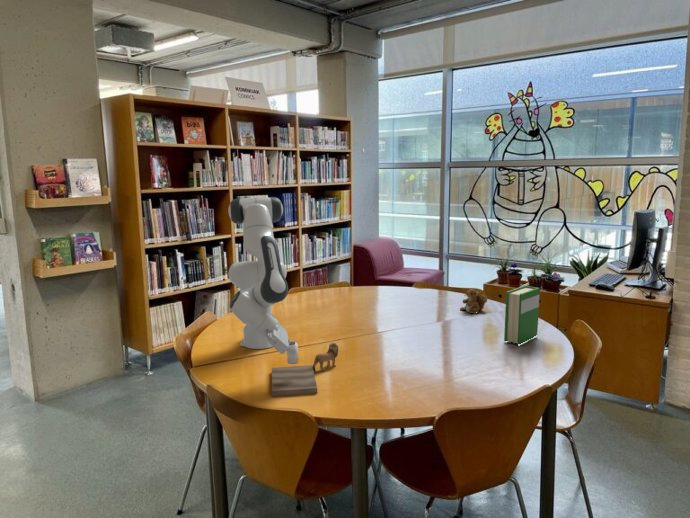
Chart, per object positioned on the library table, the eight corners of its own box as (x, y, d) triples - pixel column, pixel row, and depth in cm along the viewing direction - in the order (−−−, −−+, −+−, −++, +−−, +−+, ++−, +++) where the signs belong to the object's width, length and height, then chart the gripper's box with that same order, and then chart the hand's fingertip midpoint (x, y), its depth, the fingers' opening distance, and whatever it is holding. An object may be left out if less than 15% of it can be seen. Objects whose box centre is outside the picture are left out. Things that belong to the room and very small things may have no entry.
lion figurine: (331, 361, 210) (331, 340, 208) (341, 363, 206) (341, 342, 205) (308, 372, 198) (308, 350, 196) (319, 375, 195) (318, 353, 193)
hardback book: (519, 346, 225) (521, 294, 221) (504, 342, 230) (506, 291, 226) (537, 337, 237) (539, 288, 233) (522, 334, 242) (524, 285, 238)
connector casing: (287, 360, 188) (286, 340, 187) (297, 360, 189) (297, 339, 188) (287, 364, 184) (287, 343, 183) (298, 363, 185) (298, 342, 184)
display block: (271, 372, 198) (271, 367, 197) (312, 370, 200) (312, 365, 200) (272, 396, 176) (271, 391, 176) (317, 393, 179) (317, 387, 178)
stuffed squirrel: (458, 310, 286) (459, 287, 284) (479, 308, 291) (479, 285, 289) (468, 314, 277) (469, 291, 275) (489, 312, 282) (490, 289, 280)
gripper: (272, 328, 173) (301, 354, 176) (272, 313, 193) (298, 336, 196) (260, 341, 173) (289, 367, 176) (261, 325, 193) (287, 348, 196)
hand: (294, 350), depth 186 cm, fingers closed on connector casing, 4 cm apart
